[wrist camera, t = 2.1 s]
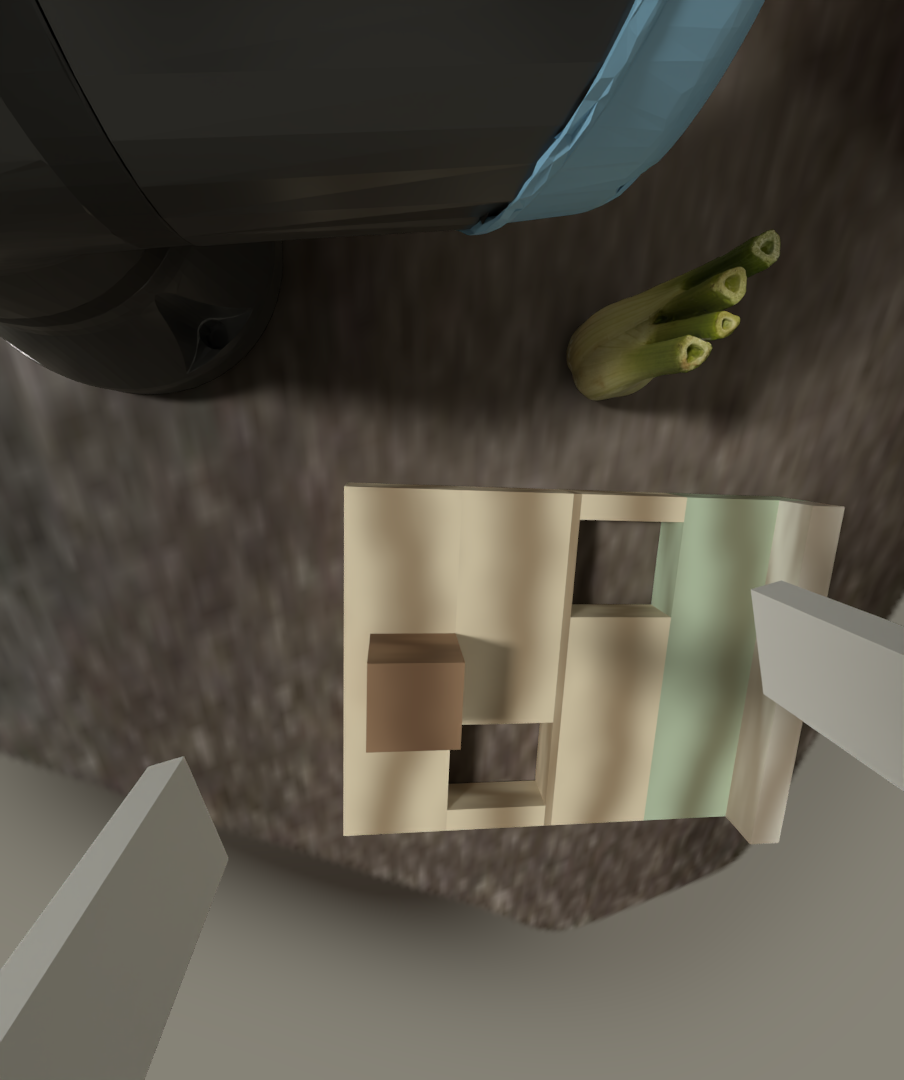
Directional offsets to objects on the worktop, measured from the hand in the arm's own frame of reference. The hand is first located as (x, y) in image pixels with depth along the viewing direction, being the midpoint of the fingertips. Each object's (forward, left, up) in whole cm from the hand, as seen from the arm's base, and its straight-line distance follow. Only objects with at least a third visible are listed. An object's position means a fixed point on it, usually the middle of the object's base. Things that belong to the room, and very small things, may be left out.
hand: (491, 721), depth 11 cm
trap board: (+9, -8, -20) cm, 24 cm away
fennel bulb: (+10, +11, -21) cm, 26 cm away
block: (-1, -8, -18) cm, 19 cm away
